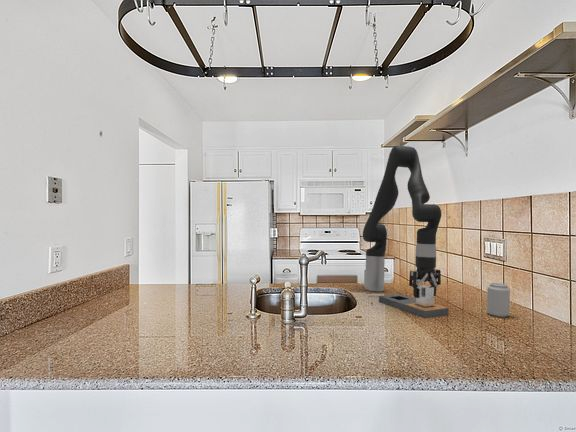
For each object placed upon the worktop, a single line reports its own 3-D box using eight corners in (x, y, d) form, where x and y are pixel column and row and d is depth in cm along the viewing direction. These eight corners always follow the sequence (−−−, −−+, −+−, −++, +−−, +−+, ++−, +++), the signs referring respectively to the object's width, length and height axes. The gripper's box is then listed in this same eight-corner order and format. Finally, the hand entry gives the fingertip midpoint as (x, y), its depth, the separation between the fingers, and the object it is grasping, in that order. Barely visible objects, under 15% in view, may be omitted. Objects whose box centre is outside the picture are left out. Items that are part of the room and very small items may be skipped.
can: (482, 313, 141) (483, 282, 141) (495, 311, 144) (495, 281, 144) (500, 318, 134) (501, 286, 134) (513, 316, 137) (514, 285, 137)
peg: (416, 311, 142) (416, 285, 142) (424, 310, 144) (424, 285, 144) (424, 314, 138) (425, 288, 138) (433, 313, 140) (433, 287, 140)
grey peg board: (378, 301, 157) (378, 295, 157) (400, 299, 162) (400, 293, 162) (425, 317, 133) (425, 310, 133) (448, 314, 138) (448, 307, 138)
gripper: (431, 253, 148) (430, 293, 148) (404, 254, 141) (403, 296, 141) (446, 255, 141) (445, 297, 141) (419, 256, 135) (418, 300, 135)
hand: (424, 296), depth 141 cm, fingers open, 8 cm apart
